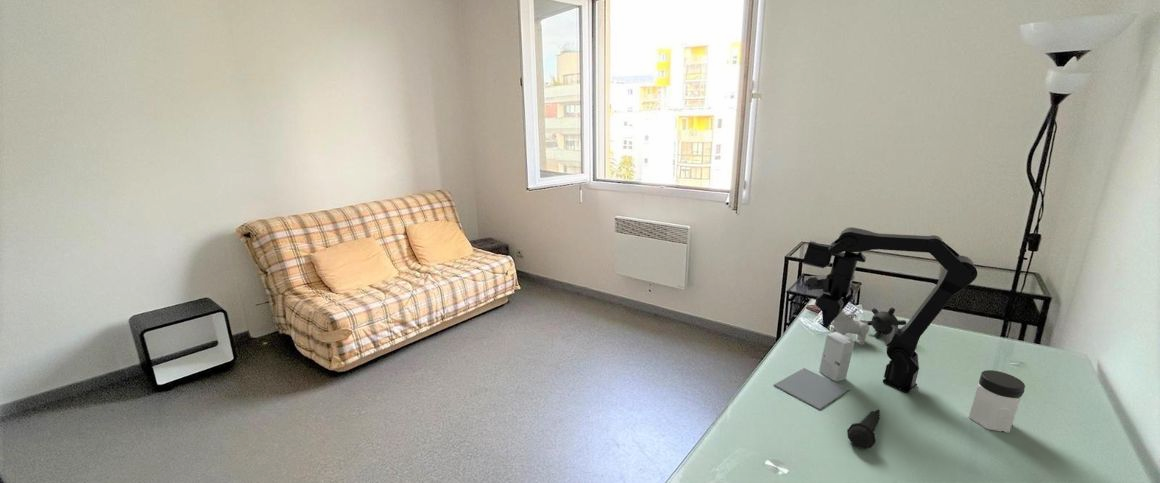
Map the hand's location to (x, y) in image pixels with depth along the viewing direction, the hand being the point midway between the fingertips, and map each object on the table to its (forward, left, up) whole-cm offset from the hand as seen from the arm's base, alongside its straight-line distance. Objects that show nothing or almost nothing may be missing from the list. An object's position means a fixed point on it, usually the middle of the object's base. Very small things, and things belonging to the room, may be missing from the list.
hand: (829, 321), depth 140 cm
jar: (-38, -8, -14) cm, 41 cm away
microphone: (-23, +21, -14) cm, 34 cm away
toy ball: (-2, -34, -14) cm, 37 cm away
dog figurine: (+4, -21, -14) cm, 26 cm away
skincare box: (-5, +4, -14) cm, 15 cm away
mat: (-5, +15, -14) cm, 21 cm away
